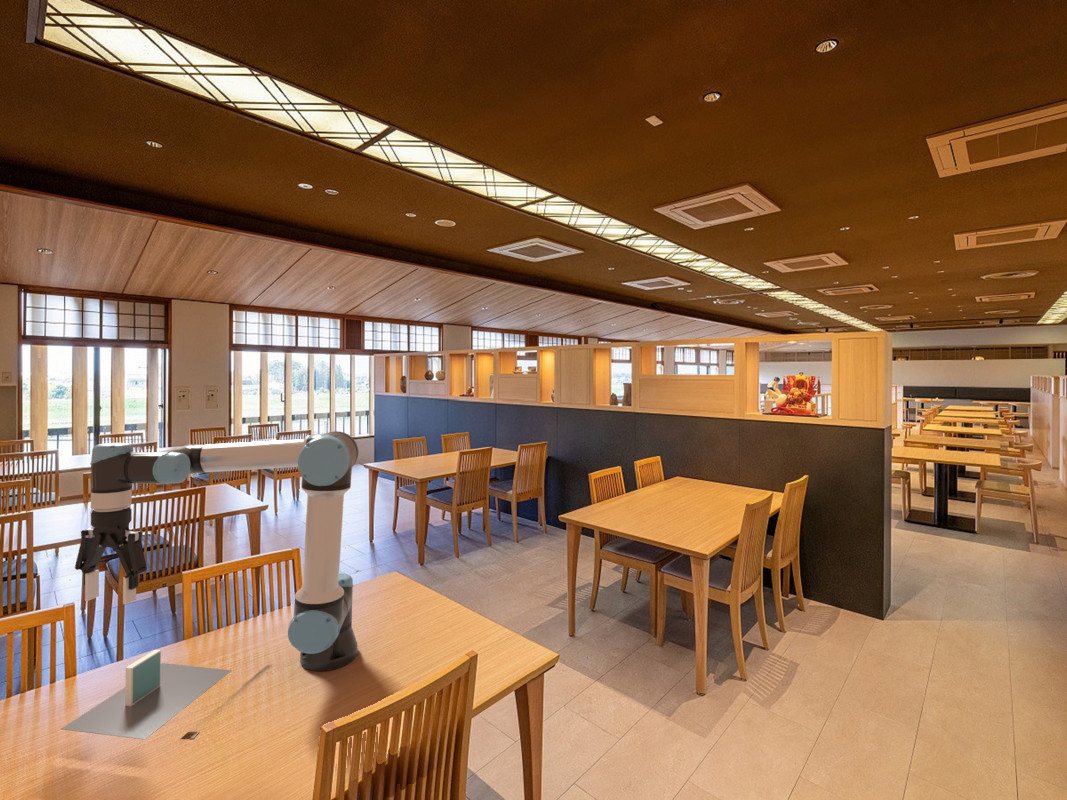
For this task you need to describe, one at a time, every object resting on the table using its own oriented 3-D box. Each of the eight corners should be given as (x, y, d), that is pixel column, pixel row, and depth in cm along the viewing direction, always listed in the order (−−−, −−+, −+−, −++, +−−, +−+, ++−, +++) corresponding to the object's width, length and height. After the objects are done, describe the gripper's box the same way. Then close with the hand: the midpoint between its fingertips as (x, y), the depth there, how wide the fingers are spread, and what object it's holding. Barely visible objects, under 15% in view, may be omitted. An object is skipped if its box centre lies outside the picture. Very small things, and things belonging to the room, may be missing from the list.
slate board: (231, 674, 132) (231, 670, 132) (144, 744, 106) (144, 739, 106) (162, 667, 134) (162, 662, 134) (60, 734, 109) (60, 728, 109)
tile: (161, 685, 125) (161, 650, 124) (131, 706, 117) (132, 668, 116) (154, 685, 125) (155, 649, 124) (125, 705, 117) (125, 667, 116)
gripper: (166, 507, 123) (165, 597, 124) (86, 501, 125) (85, 590, 126) (139, 514, 115) (138, 611, 116) (54, 508, 118) (53, 603, 119)
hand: (110, 600), depth 121 cm, fingers open, 9 cm apart
